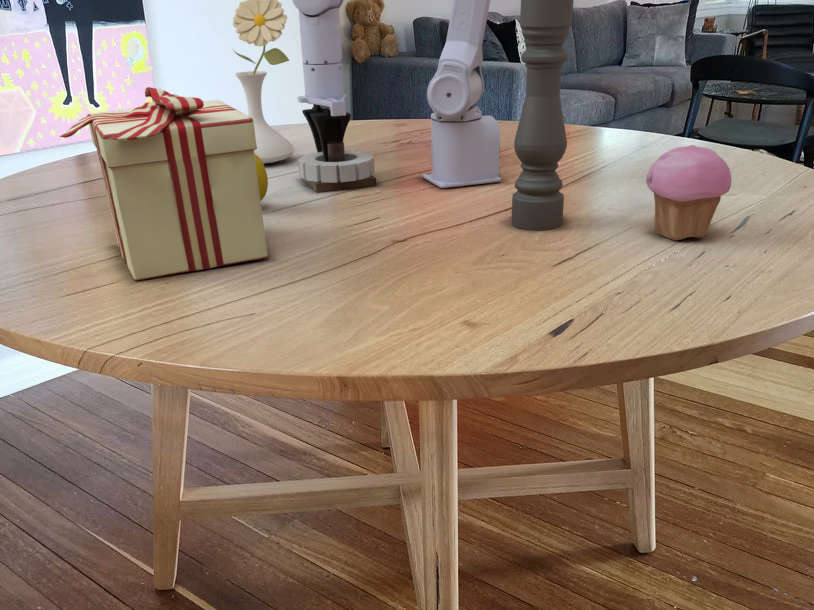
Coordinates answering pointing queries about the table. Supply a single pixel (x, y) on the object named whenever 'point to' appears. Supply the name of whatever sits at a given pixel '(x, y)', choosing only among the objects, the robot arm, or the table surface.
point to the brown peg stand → (338, 155)
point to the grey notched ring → (337, 167)
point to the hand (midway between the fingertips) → (329, 159)
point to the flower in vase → (260, 26)
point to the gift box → (180, 183)
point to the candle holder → (541, 116)
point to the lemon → (261, 177)
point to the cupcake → (687, 190)
